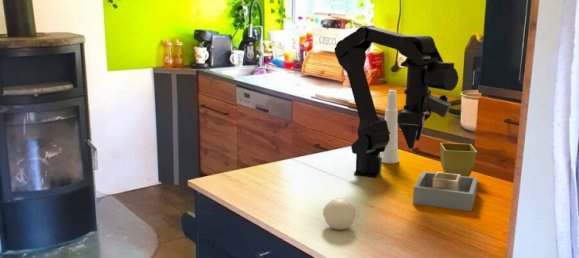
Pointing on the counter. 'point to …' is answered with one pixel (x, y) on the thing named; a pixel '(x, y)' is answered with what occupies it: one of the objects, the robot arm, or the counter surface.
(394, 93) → the cosmetic bottle
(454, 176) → the small crate
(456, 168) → the flower pot
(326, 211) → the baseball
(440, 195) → the big crate
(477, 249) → the counter surface
